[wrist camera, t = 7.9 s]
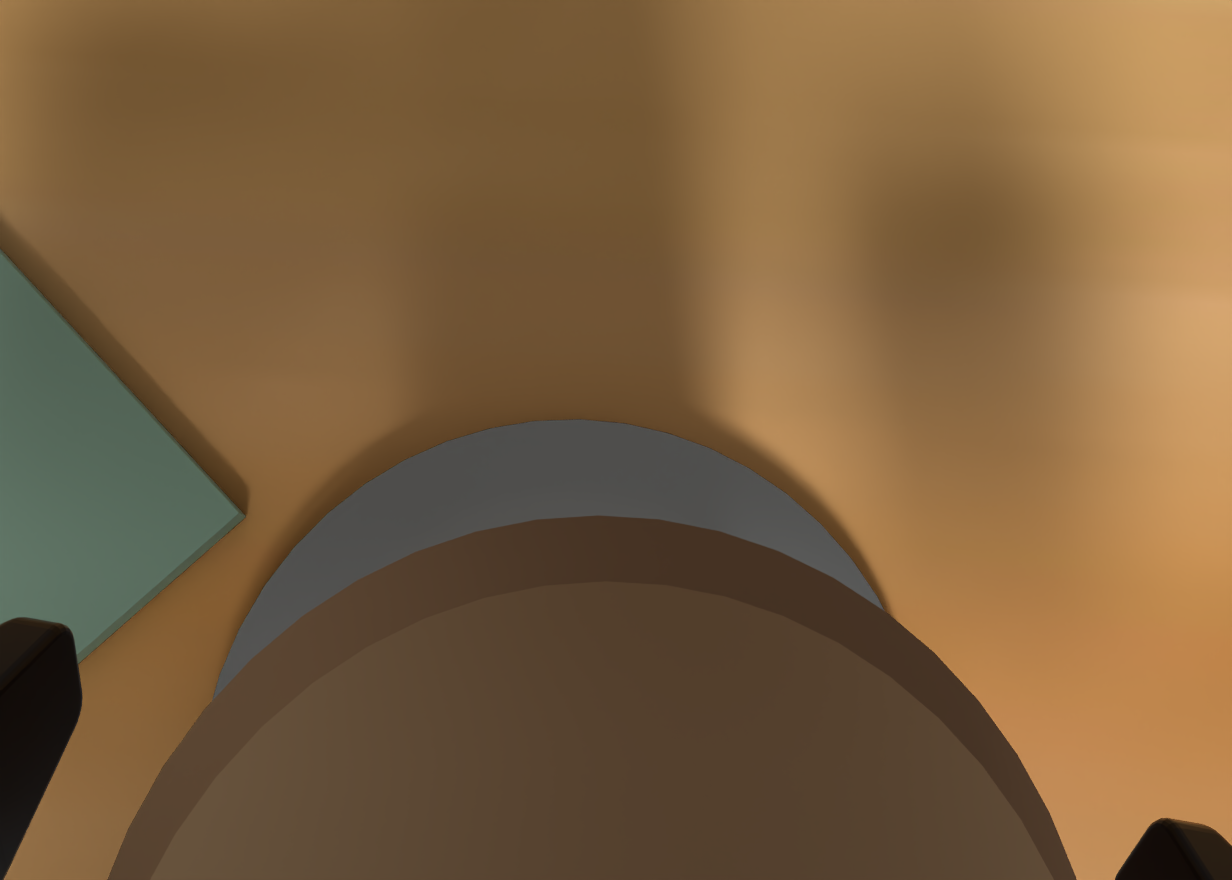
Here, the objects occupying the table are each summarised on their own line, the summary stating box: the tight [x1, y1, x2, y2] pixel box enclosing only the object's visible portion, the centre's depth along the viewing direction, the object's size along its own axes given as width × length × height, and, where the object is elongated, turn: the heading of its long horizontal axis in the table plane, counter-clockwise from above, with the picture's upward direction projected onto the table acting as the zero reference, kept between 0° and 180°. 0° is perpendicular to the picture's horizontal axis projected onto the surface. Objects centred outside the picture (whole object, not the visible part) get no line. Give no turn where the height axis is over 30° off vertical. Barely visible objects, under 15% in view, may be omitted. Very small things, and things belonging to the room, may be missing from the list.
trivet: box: [212, 419, 884, 701], centre depth 16 cm, size 11×11×1 cm
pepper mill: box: [108, 515, 1076, 880], centre depth 10 cm, size 5×5×12 cm
